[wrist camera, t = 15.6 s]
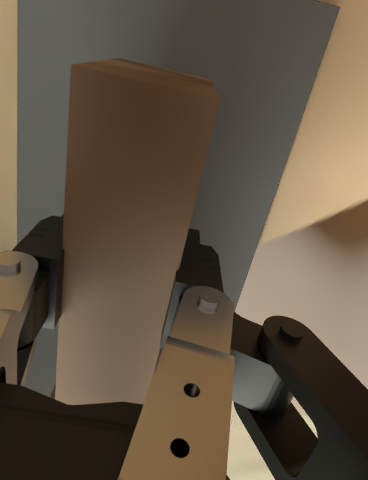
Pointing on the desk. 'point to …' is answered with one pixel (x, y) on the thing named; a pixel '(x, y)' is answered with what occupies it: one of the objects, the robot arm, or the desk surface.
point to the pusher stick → (125, 220)
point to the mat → (186, 61)
